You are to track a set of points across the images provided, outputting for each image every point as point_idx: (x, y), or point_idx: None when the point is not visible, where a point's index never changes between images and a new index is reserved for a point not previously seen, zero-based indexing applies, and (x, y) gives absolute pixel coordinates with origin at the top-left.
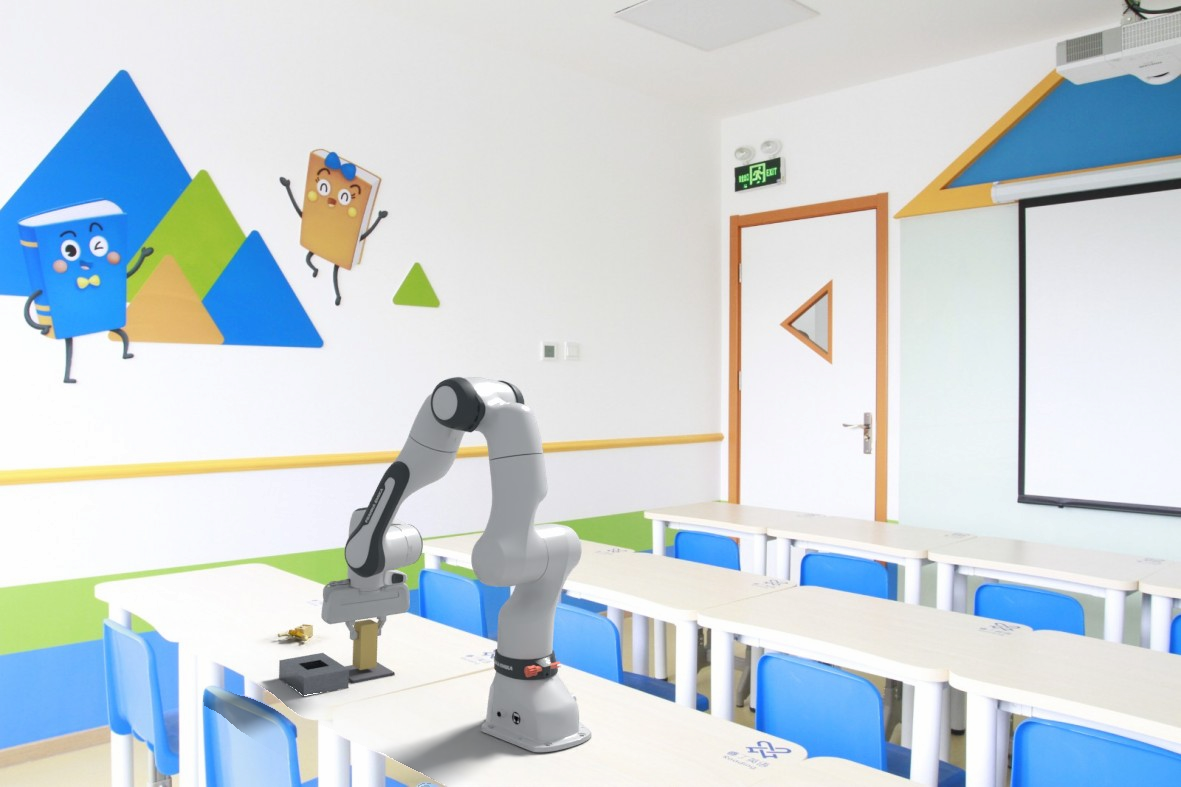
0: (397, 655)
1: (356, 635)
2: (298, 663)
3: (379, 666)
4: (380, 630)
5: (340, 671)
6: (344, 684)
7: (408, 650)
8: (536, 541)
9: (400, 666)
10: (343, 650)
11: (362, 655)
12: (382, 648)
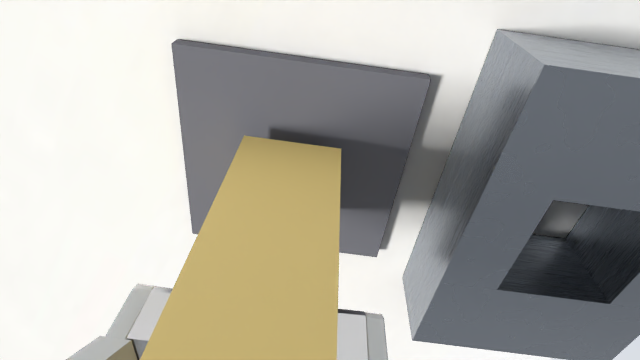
0: (77, 241)
1: (356, 338)
2: (605, 306)
3: (205, 168)
4: (124, 318)
5: (609, 73)
6: (531, 39)
7: (19, 257)
8: None
9: (103, 132)
10: None
11: (326, 196)
12: (110, 313)
